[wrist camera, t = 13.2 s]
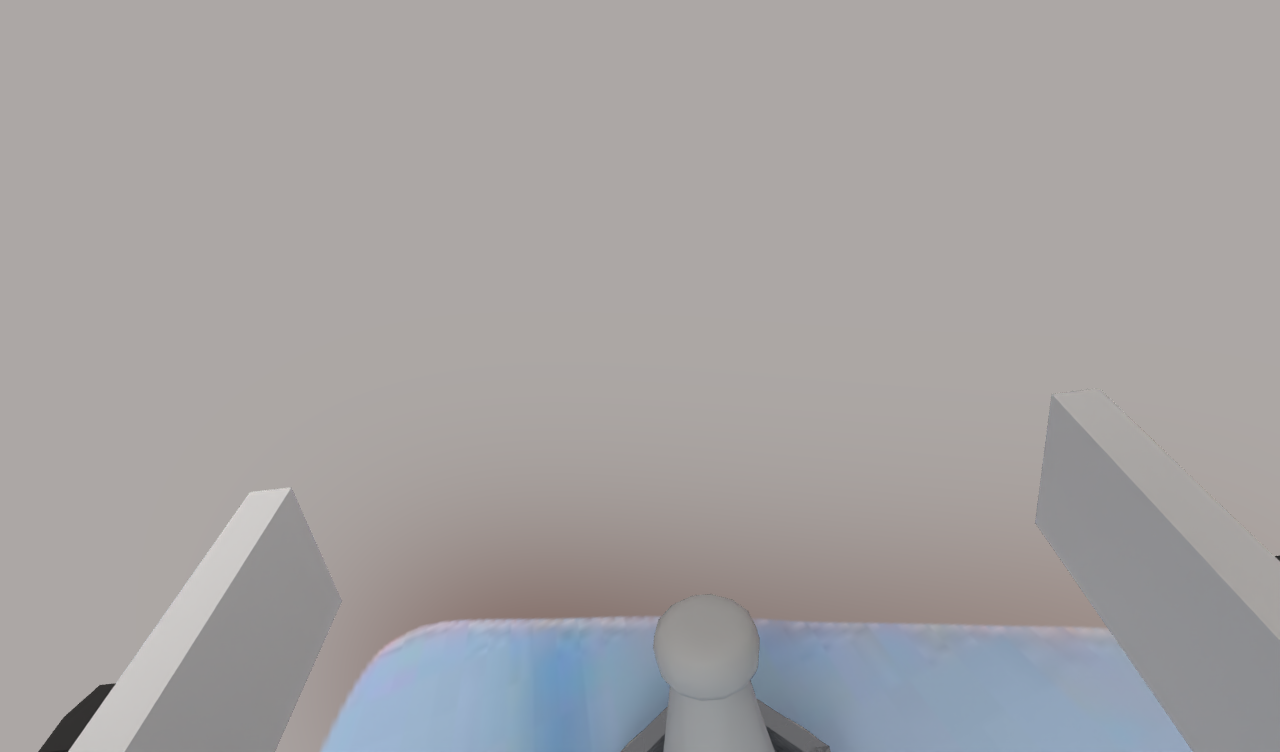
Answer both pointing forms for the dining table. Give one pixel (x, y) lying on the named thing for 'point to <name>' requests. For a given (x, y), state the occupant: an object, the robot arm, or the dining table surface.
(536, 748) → the dining table surface
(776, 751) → the steel collar
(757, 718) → the salt shaker
